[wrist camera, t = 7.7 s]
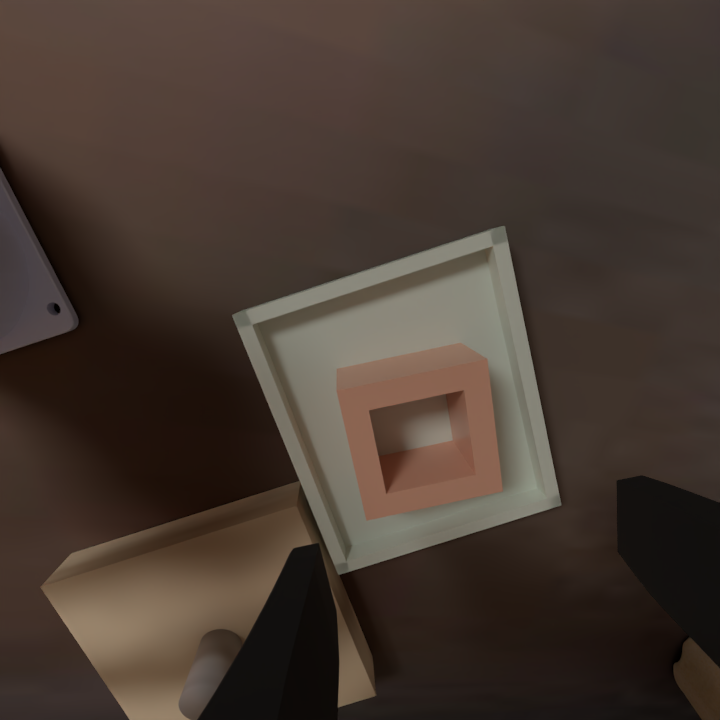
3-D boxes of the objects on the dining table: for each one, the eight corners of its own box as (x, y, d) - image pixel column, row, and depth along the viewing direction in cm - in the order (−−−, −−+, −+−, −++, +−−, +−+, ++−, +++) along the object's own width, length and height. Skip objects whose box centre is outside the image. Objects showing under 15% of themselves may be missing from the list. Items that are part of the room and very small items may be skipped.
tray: (241, 310, 16) (231, 315, 15) (489, 229, 16) (504, 225, 14) (338, 552, 19) (338, 575, 18) (544, 487, 19) (561, 505, 18)
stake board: (71, 553, 18) (-11, 641, 14) (300, 480, 18) (289, 547, 14) (174, 717, 21) (133, 832, 17) (372, 656, 21) (381, 757, 17)
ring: (361, 479, 18) (366, 520, 15) (336, 368, 16) (336, 390, 13) (475, 454, 18) (502, 491, 15) (460, 342, 16) (487, 358, 14)
